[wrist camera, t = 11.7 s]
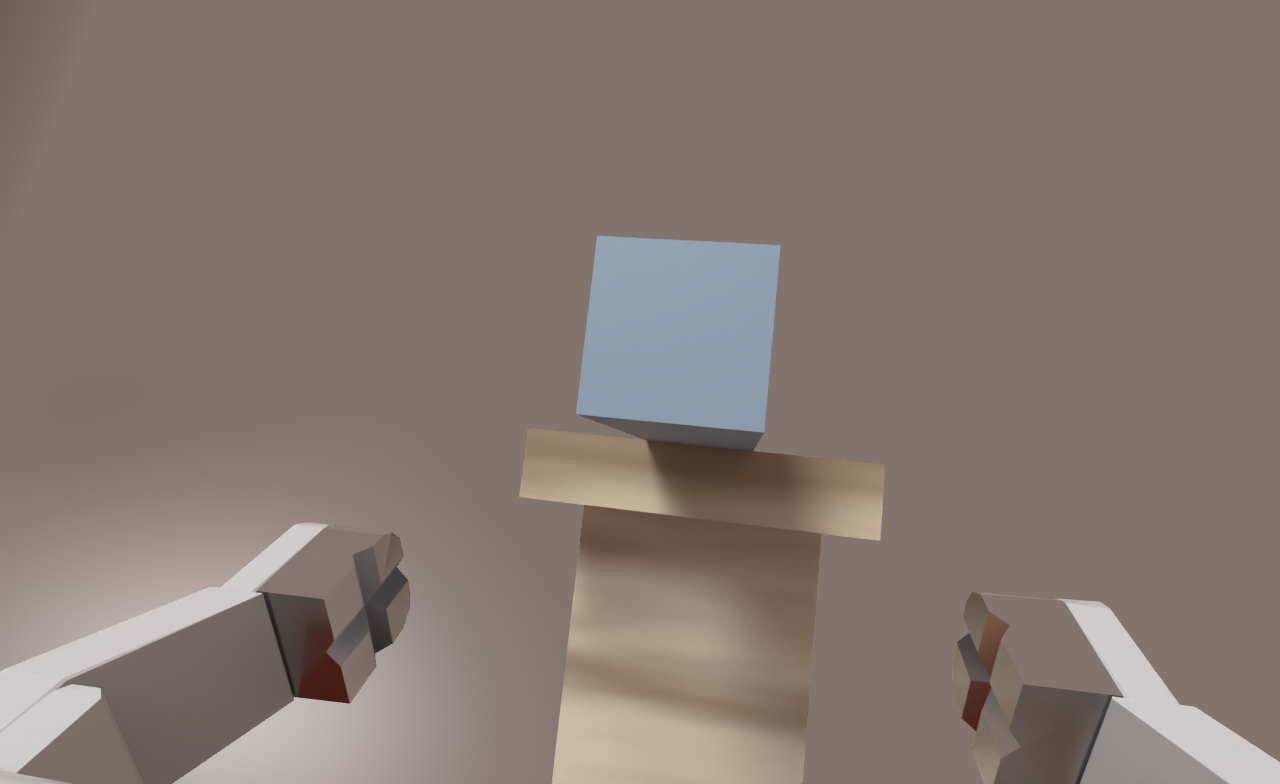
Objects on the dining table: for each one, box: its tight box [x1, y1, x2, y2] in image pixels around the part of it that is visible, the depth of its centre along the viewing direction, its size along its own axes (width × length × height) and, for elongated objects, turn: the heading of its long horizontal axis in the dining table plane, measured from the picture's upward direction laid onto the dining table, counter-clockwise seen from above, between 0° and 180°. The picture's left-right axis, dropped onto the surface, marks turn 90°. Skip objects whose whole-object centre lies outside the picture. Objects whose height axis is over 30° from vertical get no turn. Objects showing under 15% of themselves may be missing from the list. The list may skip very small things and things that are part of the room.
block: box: [576, 236, 780, 451], centre depth 20 cm, size 20×3×3 cm, turn 171°
